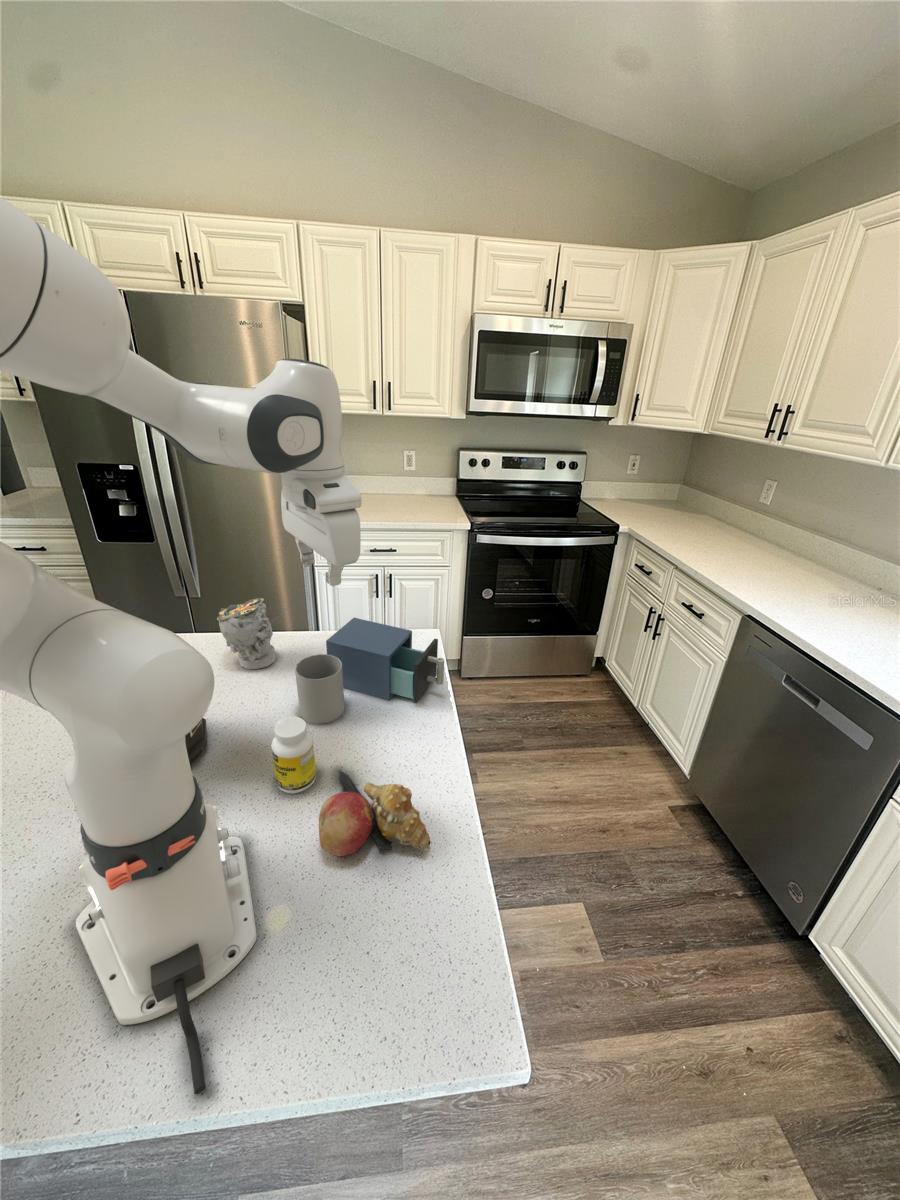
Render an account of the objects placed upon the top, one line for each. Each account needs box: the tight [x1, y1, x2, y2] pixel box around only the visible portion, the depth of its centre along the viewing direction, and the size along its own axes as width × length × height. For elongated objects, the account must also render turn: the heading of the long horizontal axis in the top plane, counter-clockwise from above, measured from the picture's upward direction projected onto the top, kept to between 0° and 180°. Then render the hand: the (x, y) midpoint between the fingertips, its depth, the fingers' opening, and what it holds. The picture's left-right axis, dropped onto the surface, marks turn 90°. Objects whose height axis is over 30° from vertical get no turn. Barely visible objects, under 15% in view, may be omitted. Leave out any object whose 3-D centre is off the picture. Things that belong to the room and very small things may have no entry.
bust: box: [216, 592, 308, 670], centre depth 106 cm, size 11×10×15 cm
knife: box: [338, 769, 393, 852], centre depth 74 cm, size 18×1×3 cm
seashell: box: [362, 781, 431, 851], centre depth 70 cm, size 9×8×10 cm
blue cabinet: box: [325, 617, 413, 701], centre depth 103 cm, size 14×11×10 cm
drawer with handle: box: [391, 638, 445, 704], centre depth 100 cm, size 17×11×9 cm, turn 70°
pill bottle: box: [270, 716, 317, 794], centre depth 76 cm, size 6×6×11 cm
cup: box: [294, 653, 345, 725], centre depth 92 cm, size 8×8×10 cm
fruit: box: [318, 791, 375, 857], centre depth 68 cm, size 8×8×8 cm
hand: (320, 573), depth 76 cm, fingers open, 8 cm apart
